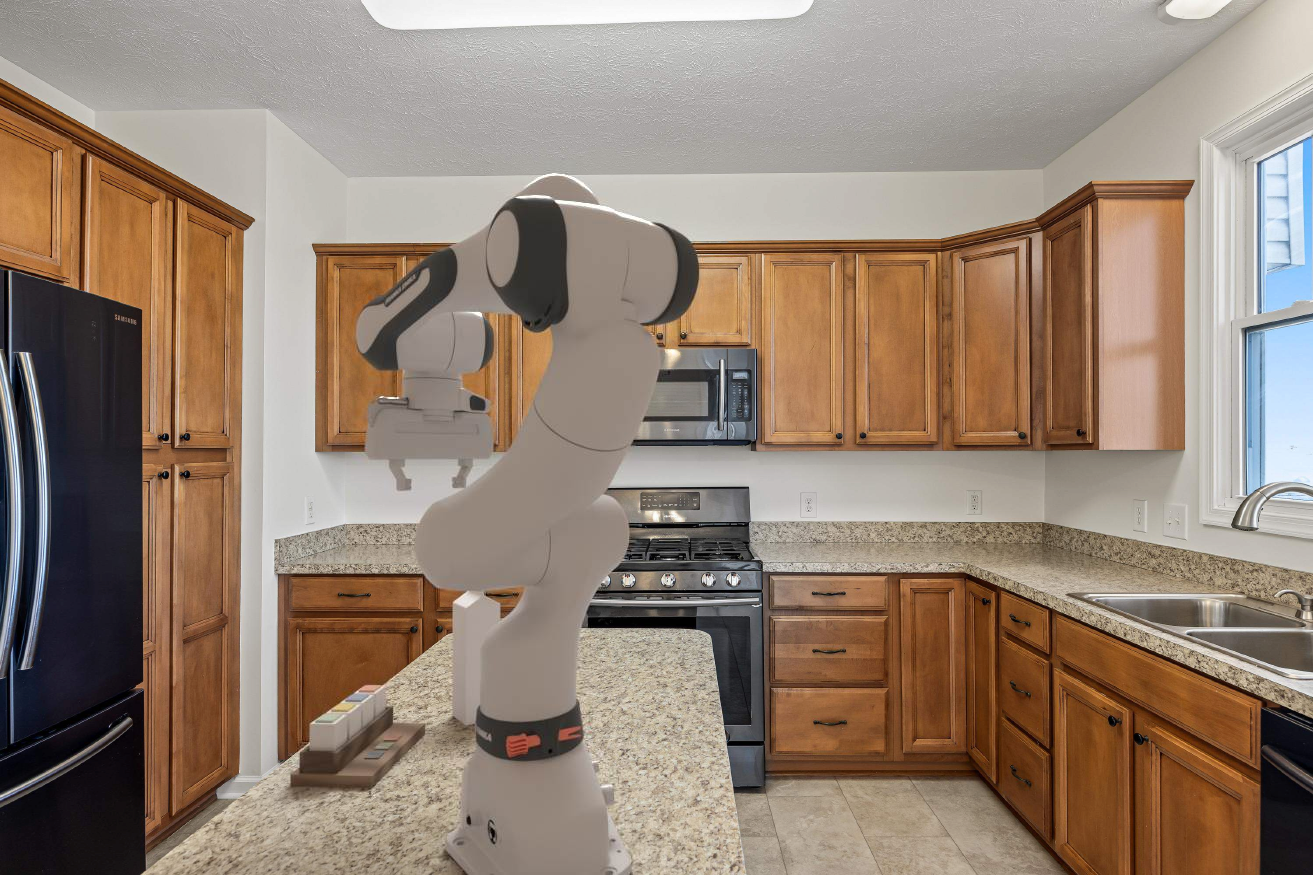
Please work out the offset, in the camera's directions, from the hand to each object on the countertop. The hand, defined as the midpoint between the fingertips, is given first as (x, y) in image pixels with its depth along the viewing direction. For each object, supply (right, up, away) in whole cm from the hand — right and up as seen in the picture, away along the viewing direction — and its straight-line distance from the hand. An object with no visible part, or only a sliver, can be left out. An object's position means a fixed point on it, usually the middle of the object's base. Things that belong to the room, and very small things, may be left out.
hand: (432, 489), depth 107 cm
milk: (+4, -39, +9) cm, 40 cm away
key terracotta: (-9, -34, -1) cm, 36 cm away
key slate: (-10, -34, -5) cm, 36 cm away
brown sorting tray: (-8, -38, -7) cm, 39 cm away
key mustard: (-10, -34, -9) cm, 37 cm away
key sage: (-10, -34, -13) cm, 38 cm away
